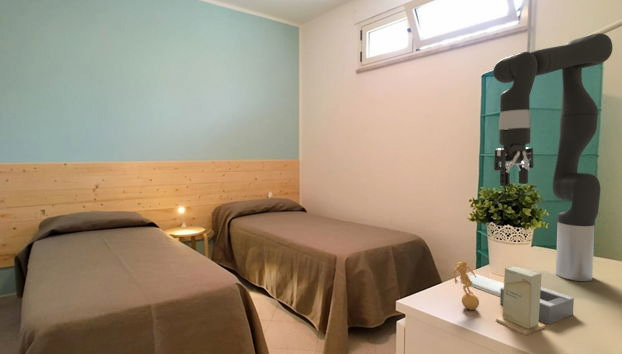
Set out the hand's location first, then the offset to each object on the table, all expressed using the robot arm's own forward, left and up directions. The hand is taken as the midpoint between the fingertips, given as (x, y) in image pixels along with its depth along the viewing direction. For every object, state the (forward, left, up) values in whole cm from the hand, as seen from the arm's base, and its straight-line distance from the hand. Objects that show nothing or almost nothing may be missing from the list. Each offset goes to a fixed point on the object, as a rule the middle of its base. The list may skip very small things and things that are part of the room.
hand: (514, 184), depth 95 cm
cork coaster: (+17, +13, -31) cm, 38 cm away
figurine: (+21, +2, -31) cm, 37 cm away
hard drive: (+3, -5, -32) cm, 32 cm away
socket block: (+6, +10, -31) cm, 33 cm away
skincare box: (+17, +13, -30) cm, 37 cm away
